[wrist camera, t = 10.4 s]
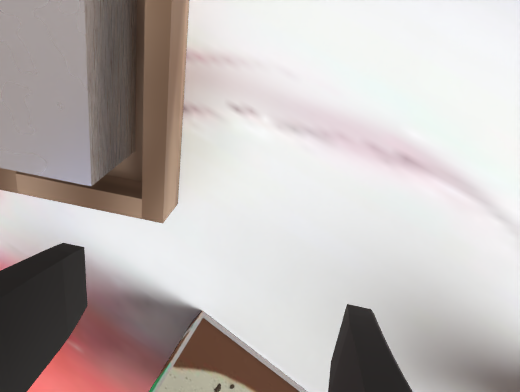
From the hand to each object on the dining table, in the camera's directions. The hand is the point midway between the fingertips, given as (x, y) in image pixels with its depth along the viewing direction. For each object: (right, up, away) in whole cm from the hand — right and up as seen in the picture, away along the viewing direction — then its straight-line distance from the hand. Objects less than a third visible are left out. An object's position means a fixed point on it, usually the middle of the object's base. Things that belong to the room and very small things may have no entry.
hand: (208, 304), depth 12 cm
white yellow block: (-6, +9, +7) cm, 13 cm away
